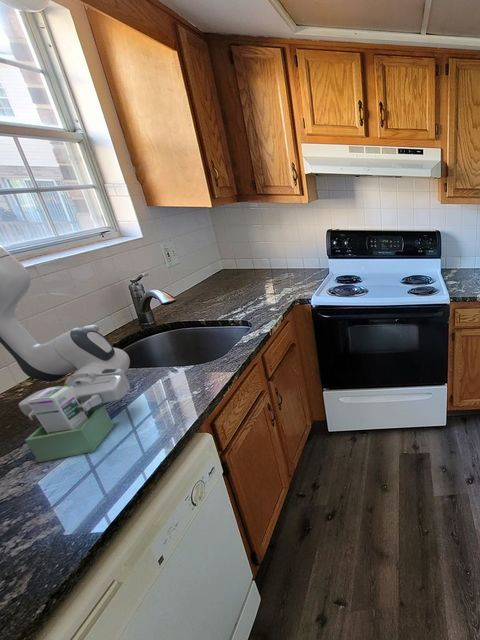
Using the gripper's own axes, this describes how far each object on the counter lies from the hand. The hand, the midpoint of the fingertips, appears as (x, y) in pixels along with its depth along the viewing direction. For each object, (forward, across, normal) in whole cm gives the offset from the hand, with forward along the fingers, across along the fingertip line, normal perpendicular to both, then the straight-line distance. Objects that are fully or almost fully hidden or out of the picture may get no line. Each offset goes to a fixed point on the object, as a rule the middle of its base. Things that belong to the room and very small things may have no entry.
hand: (58, 413), depth 87 cm
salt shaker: (-58, -18, +10) cm, 61 cm away
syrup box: (-1, 0, +9) cm, 9 cm away
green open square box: (-1, 0, +10) cm, 10 cm away
